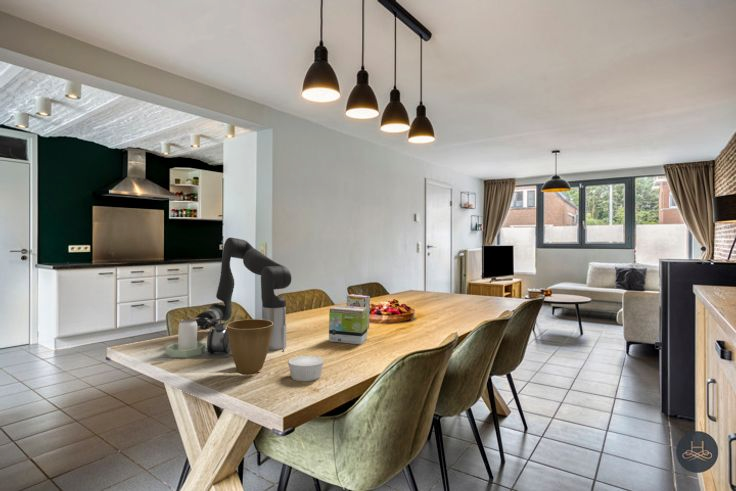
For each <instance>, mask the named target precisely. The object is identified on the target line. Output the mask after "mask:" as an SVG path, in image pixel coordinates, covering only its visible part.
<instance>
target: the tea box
mask: <svg viewBox="0 0 736 491" xmlns="http://www.w3.org/2000/svg"><path fill="white" fill-rule="evenodd" d="M367 315H368V308H367V307H353V306H347V305H338V304H337V305H335V306H333V307H331V308H329V321H328V322H329V323H328V342H330V343H331V342H332V343H333V342H334V343H343V344H353V345H358V346H359V345H360V346H361V345H363V343H365V342H366V340H367V338H368V329H367Z"/></svg>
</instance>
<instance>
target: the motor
mask: <svg viewBox="0 0 736 491" xmlns="http://www.w3.org/2000/svg"><path fill="white" fill-rule="evenodd" d="M226 325H227V323H225V322H223V323H221V322H220V323H217V324H216V325H215V328H214V327H212V328H209V331H208V332H207V333H208V334H207V338H206V347H207V350H208V352H209V353H213V352H225V353H229V352H230V351H231V349H230V344H229V339H228V333H227V326H226Z"/></svg>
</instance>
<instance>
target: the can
mask: <svg viewBox="0 0 736 491" xmlns="http://www.w3.org/2000/svg"><path fill="white" fill-rule="evenodd" d="M195 319H196V318H186V319H181V320H179V324H178V327H177V328H178V333H177V334H178V339H177V340H178V341H177V343H178V350H189V349H194V348H197V341H198V327H197V322H196V320H195Z"/></svg>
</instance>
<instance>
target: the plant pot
mask: <svg viewBox="0 0 736 491" xmlns="http://www.w3.org/2000/svg"><path fill="white" fill-rule="evenodd" d="M226 329H227V333H228V339H229V344H230V349H231V356H232V359H233V360H232V361H233V362H234V365H235V367H236V370H237V372H238V374H239V375H244V376H246V375H247V376H248V375H249V376H251V375H257V374H258V373H260V371H261V370H262V369H263V367H264V365H265V362H266V358H267V355H268V352H269V350H268V349H269V345H270V340H271V335H272V329H273V322H271V321H268V320H262V318H259V319H258V318H250V319H249V318H248V319H240V320H233V321H230V322H228V323H226Z"/></svg>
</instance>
